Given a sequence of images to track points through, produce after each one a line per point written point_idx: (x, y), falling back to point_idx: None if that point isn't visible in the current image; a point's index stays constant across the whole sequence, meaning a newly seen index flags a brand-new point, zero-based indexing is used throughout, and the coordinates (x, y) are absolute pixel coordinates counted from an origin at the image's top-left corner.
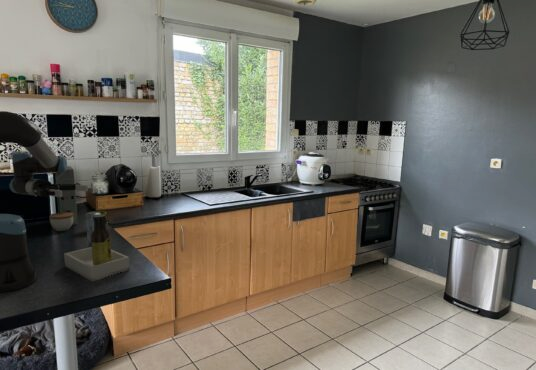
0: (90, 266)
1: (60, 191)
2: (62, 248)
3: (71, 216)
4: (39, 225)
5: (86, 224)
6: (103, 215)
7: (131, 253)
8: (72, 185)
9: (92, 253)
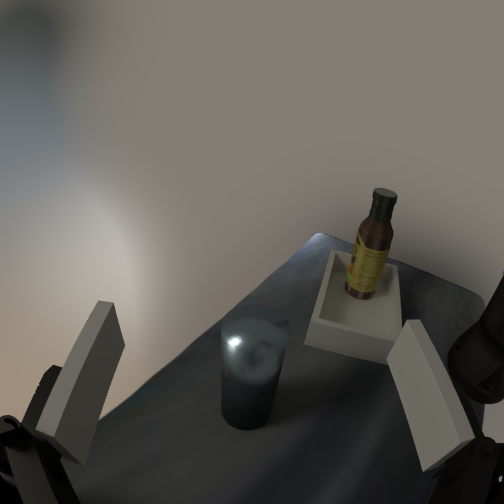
0: (395, 268)
1: (416, 325)
2: (306, 495)
3: None
4: None
5: (280, 368)
6: (378, 189)
7: (254, 304)
8: (53, 484)
9: (382, 269)
